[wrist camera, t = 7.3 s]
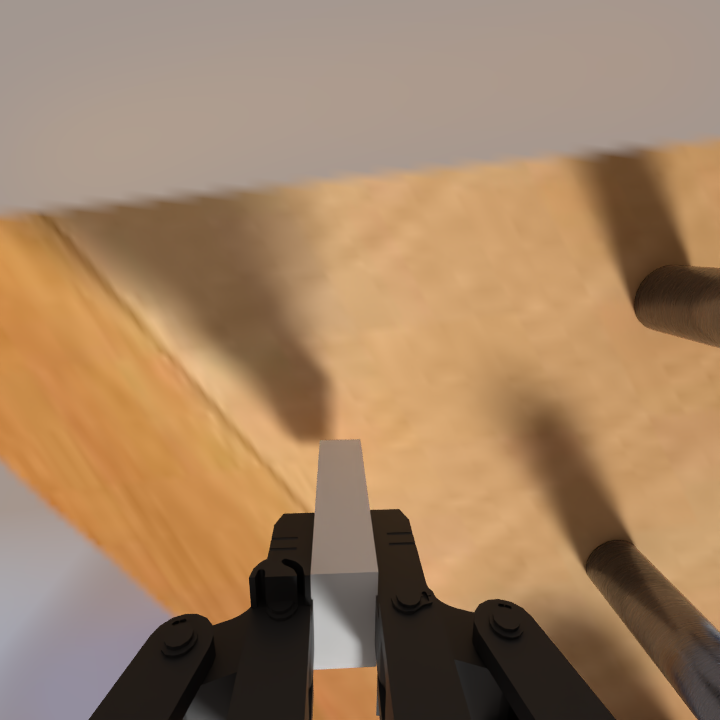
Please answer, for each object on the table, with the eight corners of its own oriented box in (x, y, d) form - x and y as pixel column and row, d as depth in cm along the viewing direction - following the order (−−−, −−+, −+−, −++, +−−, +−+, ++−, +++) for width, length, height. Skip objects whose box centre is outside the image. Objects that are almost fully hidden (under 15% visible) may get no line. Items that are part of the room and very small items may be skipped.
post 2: (644, 539, 20) (884, 768, 11) (633, 584, 21) (853, 833, 12) (590, 541, 20) (792, 775, 11) (582, 587, 20) (766, 840, 12)
